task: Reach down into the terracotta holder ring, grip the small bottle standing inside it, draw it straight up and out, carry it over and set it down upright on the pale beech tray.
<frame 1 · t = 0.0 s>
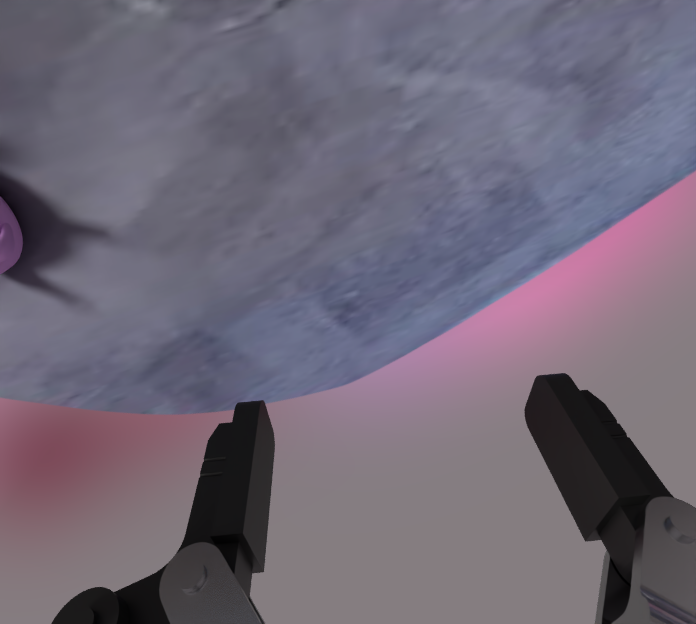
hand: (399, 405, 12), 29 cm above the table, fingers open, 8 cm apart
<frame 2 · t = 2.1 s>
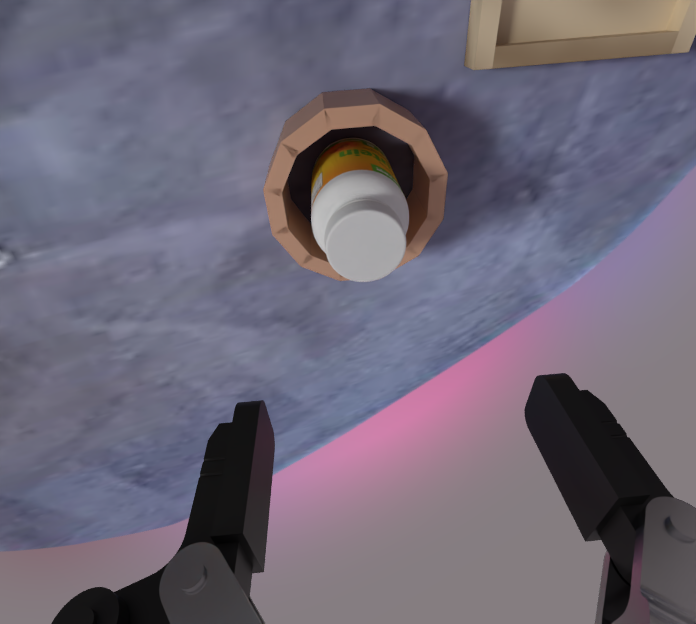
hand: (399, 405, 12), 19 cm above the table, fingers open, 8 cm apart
supplement bottle: (350, 176, 27), resting in holder ring
holder ring: (351, 177, 26), on the table
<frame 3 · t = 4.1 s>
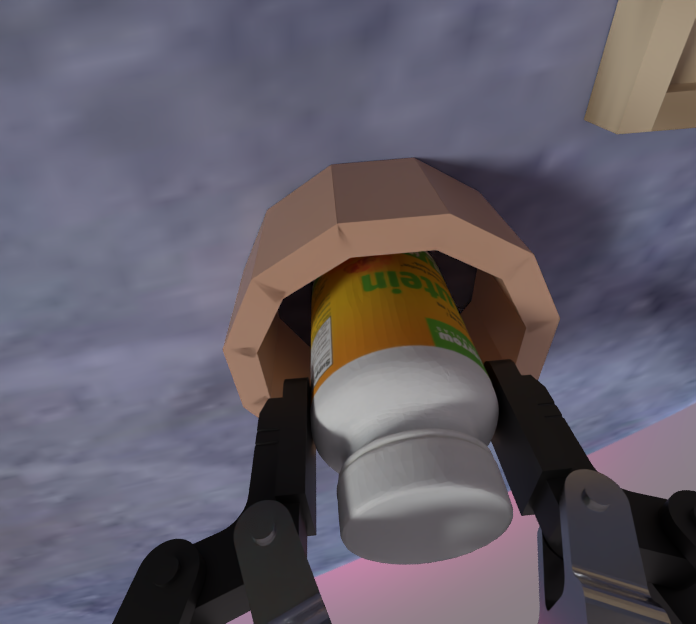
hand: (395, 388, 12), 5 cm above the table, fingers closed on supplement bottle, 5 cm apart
supplement bottle: (374, 285, 17), resting in holder ring, touching gripper
holder ring: (375, 288, 16), on the table
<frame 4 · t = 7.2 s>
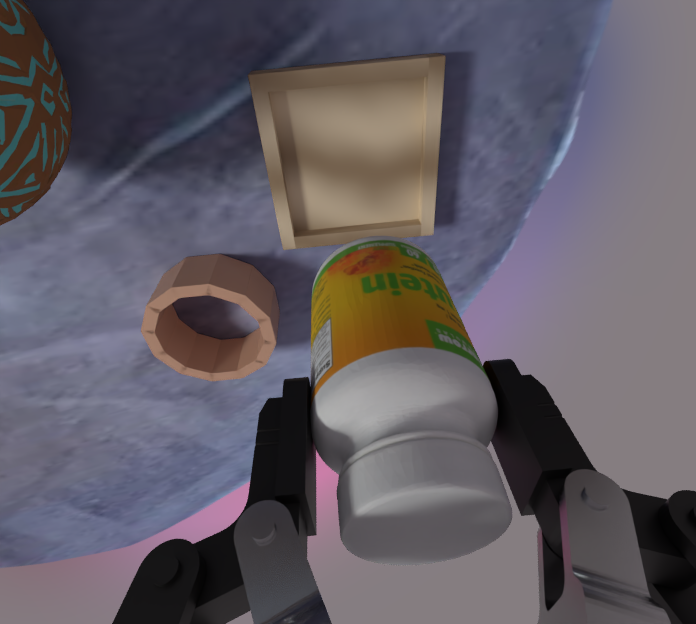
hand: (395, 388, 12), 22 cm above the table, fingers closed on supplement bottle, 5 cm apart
tray: (351, 158, 29), on the table
supplement bottle: (374, 286, 17), point 16 cm above the table, touching gripper
holder ring: (220, 304, 36), on the table
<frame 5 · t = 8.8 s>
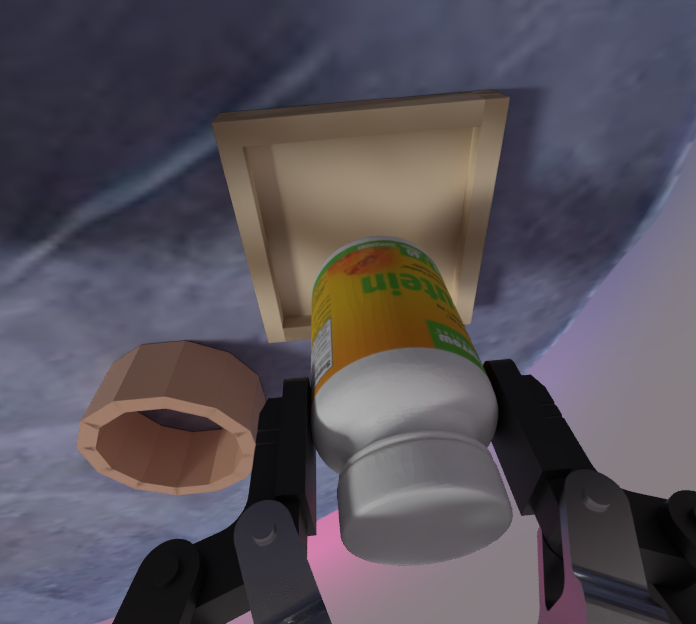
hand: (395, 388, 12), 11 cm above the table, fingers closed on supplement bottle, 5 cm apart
tray: (362, 227, 21), on the table
supplement bottle: (374, 286, 17), point 5 cm above the table, touching gripper
holder ring: (189, 395, 28), on the table
when the fingers open (7 cm above the table, at t = 10.3 s): supplement bottle drops 1 cm, resting on tray.
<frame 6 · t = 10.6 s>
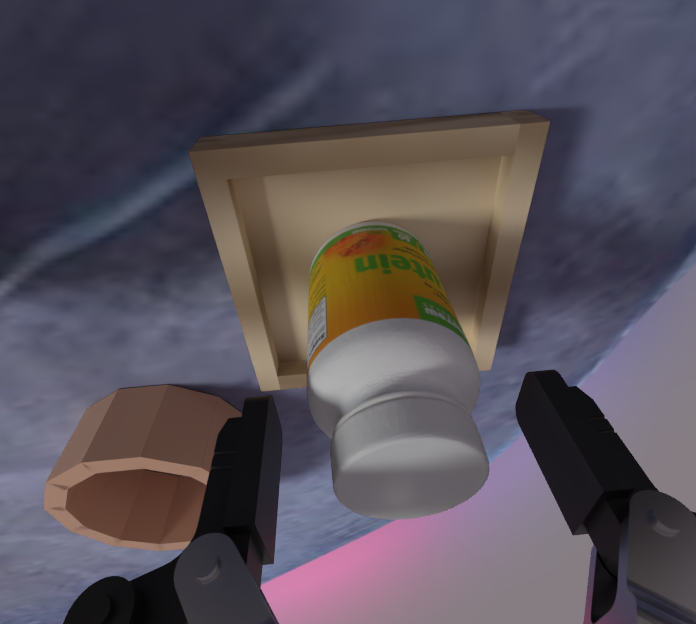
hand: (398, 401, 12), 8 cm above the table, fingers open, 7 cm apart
tray: (369, 263, 18), on the table
supplement bottle: (369, 271, 18), point 1 cm above the table, touching tray
holder ring: (174, 440, 25), on the table
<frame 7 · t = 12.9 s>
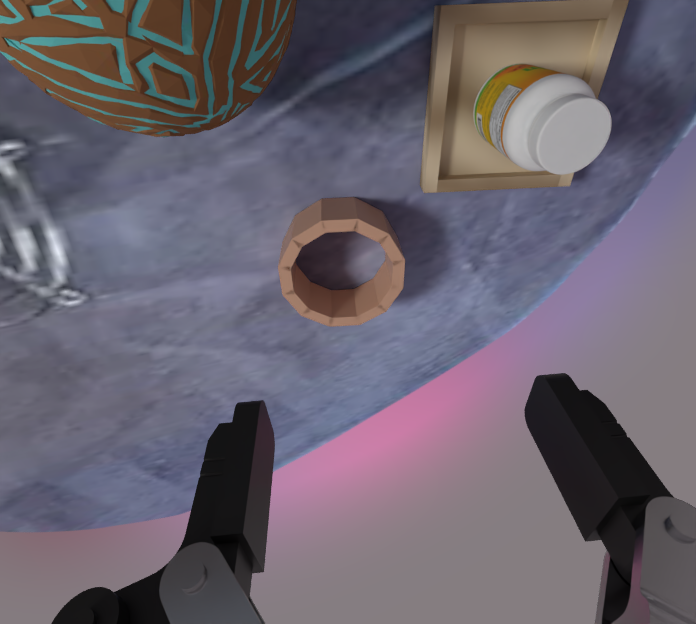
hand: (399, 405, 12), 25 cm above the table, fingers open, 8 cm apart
tray: (504, 103, 30), on the table
supplement bottle: (506, 104, 29), point 1 cm above the table, touching tray
holder ring: (340, 252, 37), on the table
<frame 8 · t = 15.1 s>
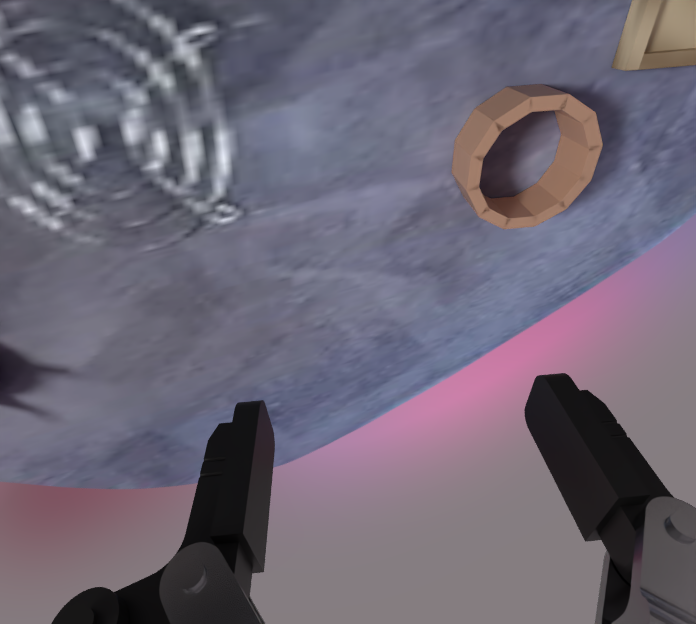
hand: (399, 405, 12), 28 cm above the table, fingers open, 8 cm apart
holder ring: (511, 151, 35), on the table
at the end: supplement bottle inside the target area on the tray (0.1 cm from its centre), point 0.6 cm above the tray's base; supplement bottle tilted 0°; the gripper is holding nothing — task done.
